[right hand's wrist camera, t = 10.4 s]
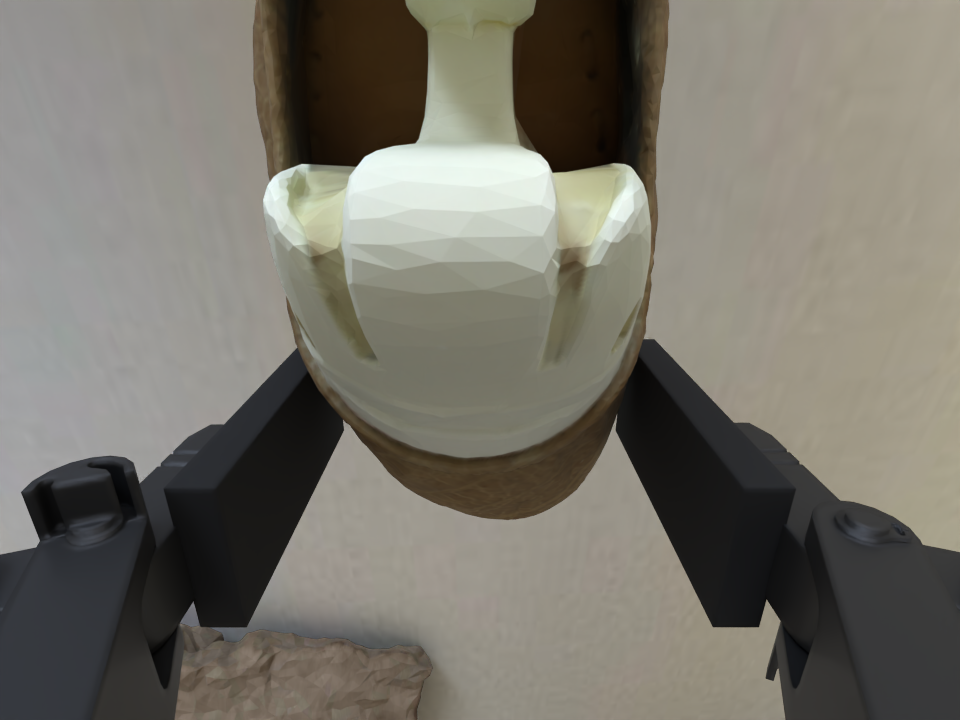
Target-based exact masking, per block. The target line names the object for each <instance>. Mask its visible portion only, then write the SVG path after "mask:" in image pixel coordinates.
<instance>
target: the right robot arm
mask: <svg viewBox="0 0 960 720" xmlns="http://www.w3.org/2000/svg"><path fill="white" fill-rule="evenodd" d="M343 431H344V426H343V419H342V418H341V417H340V415H339V414H338V413H337V412H336V411H335V410H334V408H333V407H332V406H331V405H330V404H329V402H328V401H327V400H326V399H325V397H324V396H323V395H322V394H321V392H320V391H319V390H318V388H317V386H316V384H315V382H314V381H313V379H312V377H311V375H310V373H309V371H308V369H307V368H306V366H305V364H304V361H303V359H302V357H301V355H300V352H299V350H298V348H297V349H296V350H295V351H294V352H293V353H292V354H291V355H290V356H289V357H288V358H287V359H286V360H285V361H284V362H283V363H282V364H281V365H280V366H279V367H278V369H277V370H276V371H275V372H274V373H273V374H272V375H271V376H270V377H269V378H268V379H267V380H266V381H265V382H264V383H263V384H262V385H261V386H260V387H259V389H258V390H257V391H256V392H255V393H254V394H253V395H252V396H251V397H250V398H249V399H248V400H247V401H246V402H245V403H244V404H243V405H242V406H241V407H240V408H239V410H238V411H237V412H236V413H235V414H234V415H233V416H232V417H231V418H230V419H229V420H228V421H227V422H226V423H225V424H224V425H209V426H207V427H206V428H204V429H202V430H200V431H198V432H197V433H195V434H193V435H191V436H189V437H188V438H187V439H186V440H185V441H184V442H183V443H182V444H181V445H180V446H178V447H177V448H176V449H175V450H174V451H173V454H170V455H169V456H168V457H167V458H166V459H165V460H164V461H163V462H162V463H161V467H157V468H156V469H155V470H154V471H153V472H152V473H150V474H149V475H148V476H147V477H146V478H145V479H144V480H143V481H142V482H141V483H140V484H139V480H138V477H137V473H136V470H135V466H134V463H133V462H131V461H130V460H128V459H127V458H125V457H117V456H103V457H93V458H88V459H84V460H80V461H76V462H72V463H69V464H66V465H64V466H61V467H59V468H56V469H54V470H51V471H49V472H47V473H46V474H44V475H42V476H40V477H39V478H37V479H35V480H34V481H32V482H31V483H30V484H29V485H28V486H27V487H26V488H25V489H24V490H23V491H22V492H21V493H22V496H23V498H24V501H25V504H26V506H27V509H28V511H29V514H30V516H31V519H32V521H33V524H34V527H35V529H36V532H37V534H38V537H39V539H40V542H39V544H38V546H37V547H36V548H32V549H27V550H22V551H17V552H12V553H7V554H2V555H0V720H175V713H176V705H177V698H178V690H179V683H180V675H181V668H182V660H183V653H184V638H183V633H182V629H181V626H180V621H181V620H182V618H183V617H184V615H185V613H186V612H187V610H188V609H189V607H190V606H191V604H192V603H193V601H194V604H195V608H196V612H197V616H198V619H199V623H200V627H247V625H248V623H249V621H250V619H251V617H252V615H253V613H254V611H255V609H256V607H257V605H258V603H259V601H260V599H261V597H262V595H263V593H264V591H265V589H266V587H267V585H268V583H269V581H270V579H271V577H272V575H273V573H274V571H275V569H276V567H277V565H278V563H279V561H280V559H281V557H282V555H283V553H284V551H285V549H286V547H287V545H288V543H289V540H290V538H291V536H292V534H293V532H294V530H295V528H296V526H297V524H298V522H299V520H300V518H301V516H302V514H303V512H304V510H305V508H306V506H307V504H308V502H309V500H310V498H311V496H312V494H313V492H314V490H315V488H316V486H317V484H318V482H319V480H320V478H321V476H322V474H323V472H324V470H325V468H326V466H327V464H328V462H329V460H330V458H331V456H332V453H333V451H334V449H335V447H336V445H337V443H338V441H339V439H340V437H341V435H342V433H343ZM616 432H617V434H618V436H619V438H620V440H621V442H622V444H623V446H624V448H625V450H626V452H627V454H628V456H629V458H630V460H631V462H632V464H633V466H634V468H635V470H636V472H637V474H638V476H639V479H640V481H641V483H642V485H643V487H644V489H645V491H646V493H647V495H648V497H649V499H650V501H651V503H652V505H653V507H654V509H655V511H656V513H657V515H658V517H659V519H660V521H661V523H662V525H663V527H664V529H665V531H666V533H667V535H668V537H669V539H670V541H671V543H672V545H673V547H674V549H675V551H676V553H677V555H678V557H679V559H680V561H681V564H682V566H683V568H684V570H685V572H686V574H687V576H688V578H689V580H690V582H691V584H692V586H693V588H694V590H695V592H696V594H697V596H698V598H699V600H700V602H701V604H702V606H703V608H704V610H705V612H706V614H707V616H708V618H709V620H710V622H711V624H712V626H713V627H759V625H760V621H761V618H762V614H763V610H764V606H765V603H766V599H767V600H768V602H769V603H770V605H771V607H772V608H773V610H774V611H775V613H776V614H777V616H778V617H779V619H780V620H781V622H780V626H779V629H778V633H777V636H776V640H775V643H774V647H773V650H772V653H771V657H770V660H769V664H768V667H767V674H766V679H769V680H772V681H774V677H775V674H776V671H777V669H778V668H779V674H780V681H781V688H782V696H783V703H784V711H785V718H786V720H960V552H956V551H951V550H946V549H941V548H936V547H931V546H925V545H922V543H921V541H920V539H919V538H918V537H917V536H916V535H915V534H914V532H913V531H912V530H911V529H910V528H909V527H907V526H906V525H904V524H903V523H902V522H900V521H899V520H897V519H896V518H894V517H893V516H890V515H888V514H886V513H884V512H882V511H880V510H877V509H875V508H872V507H869V506H865V505H862V504H859V503H855V502H848V501H840V500H839V499H838V498H837V497H836V496H835V495H834V494H833V493H832V492H830V491H829V490H828V489H827V488H826V487H825V486H824V485H823V484H822V483H821V482H820V481H819V480H818V479H817V478H816V477H815V476H814V475H813V474H812V473H811V472H810V471H809V470H808V469H806V468H805V467H804V466H803V465H800V464H799V461H798V460H797V459H796V458H795V457H794V456H793V455H792V454H791V453H790V452H787V449H786V448H785V447H783V446H782V445H781V444H780V443H779V442H778V441H777V440H776V439H775V438H774V437H773V436H772V435H770V434H769V433H767V432H765V431H763V430H761V429H759V428H758V427H756V426H754V425H752V424H750V423H733V422H732V420H731V419H730V418H729V417H728V416H727V415H726V414H725V413H724V412H723V411H722V410H721V409H720V408H719V407H718V406H717V405H716V404H715V403H714V402H713V401H712V399H711V398H710V397H709V396H708V395H707V394H706V393H705V392H704V391H703V390H702V389H701V388H700V387H699V386H698V385H697V384H696V383H695V382H694V381H693V379H692V378H691V377H690V376H689V375H688V374H687V373H686V372H685V371H684V370H683V369H682V368H681V367H680V366H679V365H678V364H677V363H676V362H675V361H674V359H673V358H672V357H671V356H670V355H669V354H668V353H667V352H666V351H665V350H664V349H663V348H662V347H661V346H660V345H659V344H658V343H657V342H656V341H655V340H654V339H643V341H642V345H641V348H640V351H639V354H638V358H637V362H636V364H635V366H634V368H633V371H632V373H631V375H630V377H629V378H628V382H627V385H626V389H625V392H624V396H623V399H622V402H621V405H620V407H619V410H618V414H617V423H616Z"/></svg>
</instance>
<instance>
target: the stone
mask: <svg viewBox="0 0 960 720" xmlns="http://www.w3.org/2000/svg"><path fill="white" fill-rule="evenodd" d="M180 626H181V629H182V633H183V638H184V653H183V660H182V668H181V675H180V683H179V690H178V698H177V705H176V713H175V720H417V707H418V704H419V701H420V698H421V690H422V687H423V683H424V680H425V679H426V678H427V677H428V676H430V673H431V671H432V669H433V667H432V665H431V662H430V659H429V658H428V656H427V655H426V653H425V652H424V650H423V649H422V647H421V646H407V647H405V646H401V645H396V646H394V647H392V648H389V649H369V648H366V647H364V646H361V645H356V644H354V643H353V642H351V641H349V640H348V639H341V638H334V639H329V638H320V639H312V638H306V637H300V636H298V635H295V634H293V633H279V632H272V631H267V630H257V631H254V632H250V633H247V634H246V635H245V636H244V637H243V638H242V640H241V641H238V642H233V643H230V642H227V641H224V638H223V635H222V633H221V632H218V631H215V630H213V629H211V628H209V627H200V626H195V627H190V626H187V625H185V624H180Z"/></svg>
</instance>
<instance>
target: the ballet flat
mask: <svg viewBox="0 0 960 720" xmlns="http://www.w3.org/2000/svg"><path fill="white" fill-rule="evenodd" d="M668 19H669V2H668V0H256V6H255V20H254V25H253V56H254V84H255V91H256V106H257V114H258V119H259V123H260V128H261V132H262V136H263V139H264V143H265V148H266V155H267V166H268V175H269V180H270V183H269V184H268V186H267V189H266V192H265V196H264V200H263V207H264V218H265V225H266V232H267V236H268V240H269V244H270V248H271V252H272V256H273V260H274V263H275V266H276V269H277V272H278V275H279V278H280V281H281V284H282V287H283V289H284V292H285V294H286V299H287V309H288V313H289V317H290V321H291V325H292V329H293V333H294V338H295V342H296V345H297V347H298V350H299V352H300V355H301V357H302V359H303V361H304V364H305V366H306V368H307V369H308V371H309V373H310V375H311V377H312V379H313V381H314V382H315V384H316V386H317V388H318V390H319V391H320V392H321V394H322V395H323V396H324V397H325V399H326V400H327V401H328V402H329V404H330V405H331V406H332V407H333V408H334V410H335V411H336V412H337V413H338V414H339V415H340V417H341V418H342V419H343V420H344V421H345V422H346V423H347V424H349V425H350V426H351V427H352V429H353V430H354V432H355V433H356V435H357V436H358V437H359V439H360V440H361V441H362V442H363V443H364V444H365V445H366V446H367V447H368V448H369V449H370V451H371V452H372V453H373V454H374V455H375V456H376V457H377V458H378V459H379V461H380V462H381V463H382V464H383V466H384V467H385V468H386V470H387V471H388V472H389V473H390V474H391V475H392V476H393V477H395V478H396V479H397V480H398V481H399V482H400V483H401V484H403V485H404V486H405V487H406V488H408V489H410V490H411V491H413V492H414V493H416V494H418V495H420V496H422V497H424V498H426V499H428V500H430V501H432V502H434V503H436V504H438V505H442V506H446V507H449V508H452V509H454V510H457V511H460V512H462V513H465V514H469V515H473V516H477V517H482V518H488V519H504V520H510V519H519V518H526V517H530V516H534V515H537V514H539V513H542V512H544V511H546V510H548V509H550V508H552V507H553V506H555V505H557V504H558V503H560V502H562V501H563V500H564V499H566V498H567V497H568V496H569V495H571V494H572V493H573V492H574V491H575V490H577V489H578V487H579V486H580V484H581V483H582V482H583V481H584V480H585V478H586V476H587V475H588V473H589V472H590V471H591V469H592V468H593V466H594V464H595V463H596V461H597V459H598V458H599V456H600V454H601V452H602V450H603V448H604V446H605V444H606V442H607V439H608V437H609V434H610V432H611V429H612V426H613V424H614V421H615V418H616V415H617V413H618V410H619V407H620V405H621V402H622V399H623V396H624V392H625V389H626V385H627V382H628V378H629V377H630V375H631V373H632V371H633V368H634V366H635V364H636V362H637V358H638V354H639V351H640V348H641V345H642V341H643V338H644V335H645V332H646V316H647V311H648V306H649V298H650V291H651V272H652V268H653V264H654V260H653V255H654V251H655V236H656V231H657V223H658V208H657V195H656V184H655V180H656V137H657V130H658V124H659V112H660V101H661V90H662V86H663V82H664V73H665V63H666V52H667V46H668Z"/></svg>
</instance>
